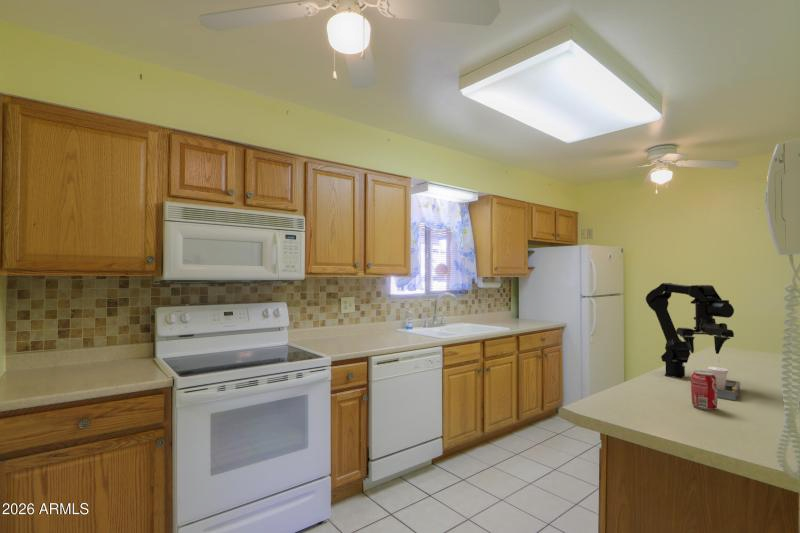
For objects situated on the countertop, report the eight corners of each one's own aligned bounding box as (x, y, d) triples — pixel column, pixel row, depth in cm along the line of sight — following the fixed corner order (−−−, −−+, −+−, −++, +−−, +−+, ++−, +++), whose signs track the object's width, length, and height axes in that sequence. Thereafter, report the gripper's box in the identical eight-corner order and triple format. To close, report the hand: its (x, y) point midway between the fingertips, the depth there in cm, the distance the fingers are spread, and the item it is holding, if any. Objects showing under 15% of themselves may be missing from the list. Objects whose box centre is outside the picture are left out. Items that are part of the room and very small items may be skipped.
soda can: (712, 405, 137) (712, 370, 138) (721, 412, 131) (720, 375, 131) (688, 403, 140) (688, 369, 140) (695, 409, 133) (695, 373, 133)
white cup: (714, 396, 148) (714, 358, 148) (703, 391, 154) (702, 355, 154) (732, 397, 147) (732, 359, 147) (720, 392, 154) (720, 355, 154)
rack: (698, 394, 150) (698, 385, 150) (706, 384, 165) (706, 376, 165) (735, 400, 143) (735, 391, 143) (740, 389, 157) (740, 381, 157)
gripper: (689, 316, 157) (690, 356, 157) (743, 317, 154) (743, 358, 154) (675, 314, 168) (675, 351, 168) (724, 315, 165) (725, 352, 165)
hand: (704, 353), depth 163 cm, fingers open, 9 cm apart
